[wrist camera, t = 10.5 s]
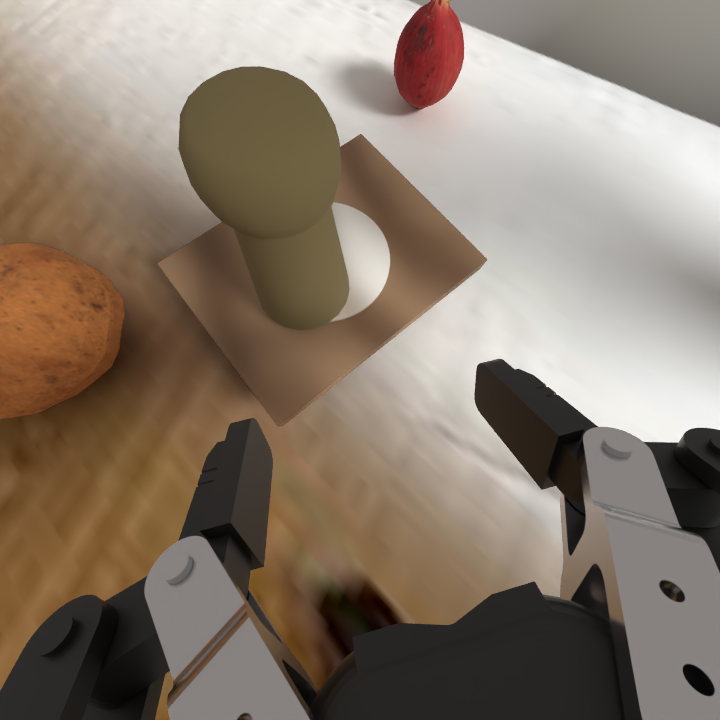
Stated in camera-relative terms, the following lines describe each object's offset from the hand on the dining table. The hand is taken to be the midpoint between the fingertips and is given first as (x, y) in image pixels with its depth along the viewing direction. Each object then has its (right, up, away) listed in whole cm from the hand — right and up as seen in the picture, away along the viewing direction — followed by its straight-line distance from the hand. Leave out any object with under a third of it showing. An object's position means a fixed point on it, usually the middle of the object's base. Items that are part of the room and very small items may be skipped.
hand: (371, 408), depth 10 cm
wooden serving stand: (-3, +8, +14) cm, 16 cm away
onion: (+5, +27, +19) cm, 33 cm away
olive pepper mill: (-4, +7, +9) cm, 12 cm away
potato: (-22, +3, +12) cm, 25 cm away
